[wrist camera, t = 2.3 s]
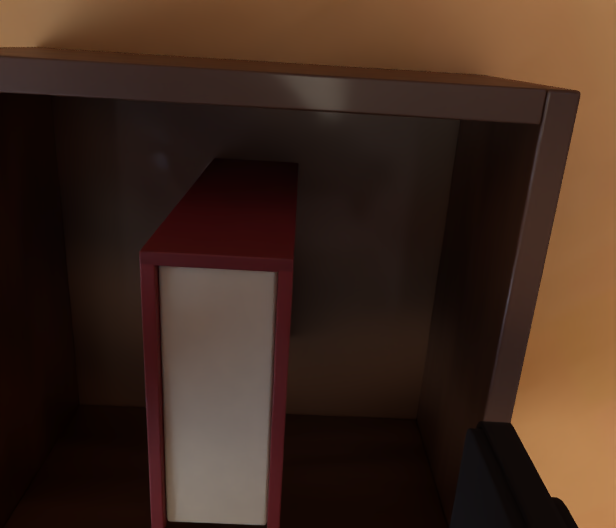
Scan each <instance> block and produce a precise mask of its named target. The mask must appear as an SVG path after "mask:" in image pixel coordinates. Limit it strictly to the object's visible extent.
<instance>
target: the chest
mask: <svg viewBox="0 0 616 528" xmlns="http://www.w3.org/2000/svg"><path fill="white" fill-rule="evenodd" d="M579 99H580V92H579V91H577V90H571V89H565V88H559V87H553V86H547V85H541V84H534V83H528V82H522V81H516V80H510V79H504V78H498V77H491V76H486V75H476V74H459V73H443V72H427V71H411V70H395V69H378V68H362V67H346V66H330V65H314V64H297V63H281V62H265V61H249V60H233V59H216V58H200V57H184V56H168V55H152V54H135V53H119V52H103V51H87V50H71V49H55V48H38V47H0V528H151V505H150V483H149V461H148V439H147V417H146V394H145V372H144V350H143V328H142V306H141V283H140V261H139V251H140V250H141V249H142V247H143V246H144V245H145V244H146V242H147V241H148V240H149V239H150V237H151V236H152V235H153V234H154V232H155V231H156V230H157V229H158V227H159V226H160V225H161V224H162V222H163V221H164V220H165V219H166V217H167V216H168V215H169V214H170V212H171V211H172V210H173V209H174V208H175V206H176V205H177V204H178V203H179V201H180V200H181V199H182V198H183V196H184V195H185V194H186V193H187V191H188V190H189V189H190V188H191V186H192V185H193V184H194V183H195V181H196V180H197V179H198V178H199V176H200V175H201V174H202V173H203V172H204V170H205V169H206V168H207V167H208V165H209V164H210V163H211V162H212V160H213V159H214V158H222V159H239V160H257V161H274V162H292V163H299V168H298V188H297V208H296V229H295V249H294V268H293V287H292V306H291V325H290V343H289V362H288V381H287V399H286V418H285V437H284V456H283V474H282V493H281V512H280V528H449V527H450V521H451V515H452V510H453V504H454V499H455V493H456V488H457V482H458V476H459V471H460V465H461V460H462V454H463V449H464V443H465V437H466V433H467V430H468V429H469V428H475V429H476V426H477V424H478V422H480V421H490V422H508V423H510V422H511V418H512V413H513V408H514V404H515V399H516V394H517V390H518V385H519V380H520V375H521V371H522V366H523V361H524V357H525V352H526V347H527V343H528V338H529V333H530V329H531V324H532V319H533V315H534V310H535V305H536V301H537V296H538V291H539V287H540V282H541V277H542V272H543V268H544V263H545V258H546V254H547V249H548V244H549V240H550V235H551V230H552V226H553V221H554V216H555V212H556V207H557V202H558V198H559V193H560V188H561V184H562V179H563V174H564V169H565V165H566V160H567V155H568V151H569V146H570V141H571V137H572V132H573V127H574V123H575V118H576V113H577V109H578V104H579ZM165 528H267V523H266V525H245V524H221V523H197V522H173V521H168V520H167V523H166V527H165Z"/></svg>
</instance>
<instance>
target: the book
mask: <svg viewBox="0 0 616 528" xmlns="http://www.w3.org/2000/svg"><path fill="white" fill-rule="evenodd" d="M298 168H299V163H292V162H274V161H257V160H239V159H222V158H214V159H213V160H212V162H211V163H210V164H209V165H208V167H207V168H206V169H205V170H204V172H203V173H202V174H201V175H200V176H199V178H198V179H197V180H196V181H195V183H194V184H193V185H192V186H191V188H190V189H189V190H188V191H187V193H186V194H185V195H184V196H183V198H182V199H181V200H180V201H179V203H178V204H177V205H176V206H175V208H174V209H173V210H172V211H171V212H170V214H169V215H168V216H167V217H166V219H165V220H164V221H163V222H162V224H161V225H160V226H159V227H158V229H157V230H156V231H155V232H154V234H153V235H152V236H151V237H150V239H149V240H148V241H147V242H146V244H145V245H144V246H143V247H142V249H141V250H140V251H139V261H140V283H141V306H142V328H143V350H144V372H145V394H146V417H147V439H148V461H149V483H150V505H151V528H165V527H166V523H167V520H168V521H173V522H197V523H221V524H245V525H266V523H267V528H280V512H281V493H282V474H283V456H284V437H285V418H286V399H287V381H288V362H289V343H290V325H291V306H292V287H293V268H294V249H295V229H296V208H297V188H298Z"/></svg>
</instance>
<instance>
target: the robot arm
mask: <svg viewBox="0 0 616 528" xmlns="http://www.w3.org/2000/svg"><path fill="white" fill-rule="evenodd" d="M449 528H578V526H577V524H576V523H575V521H574V519H573V517H572V516H571V514H570V512H569V510H568V508H567V507H566V505H565V504H564V503H563V501H562V500H560V499H559V498H556V497H551V496H550V494H549V493H548V491H547V489H546V487H545V485H544V483H543V481H542V479H541V478H540V476H539V474H538V472H537V470H536V468H535V466H534V465H533V463H532V461H531V459H530V457H529V455H528V453H527V451H526V450H525V448H524V446H523V444H522V442H521V440H520V438H519V437H518V435H517V433H516V431H515V429H514V427H513V426H512V424H511V423H508V422H490V421H480V422H478V424H477V426H476V429H475V428H469V429H468V430H467V433H466V437H465V443H464V449H463V454H462V460H461V465H460V471H459V476H458V482H457V488H456V493H455V499H454V504H453V510H452V515H451V521H450V527H449Z"/></svg>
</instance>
